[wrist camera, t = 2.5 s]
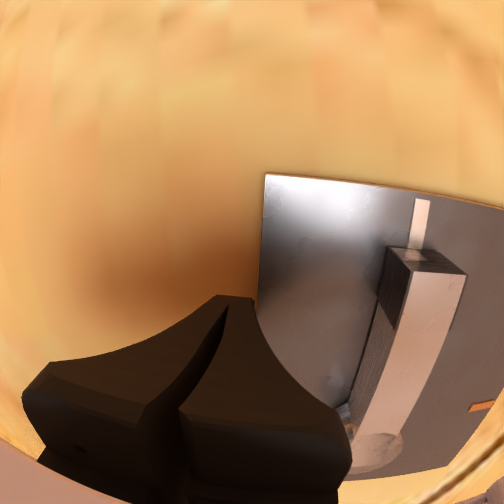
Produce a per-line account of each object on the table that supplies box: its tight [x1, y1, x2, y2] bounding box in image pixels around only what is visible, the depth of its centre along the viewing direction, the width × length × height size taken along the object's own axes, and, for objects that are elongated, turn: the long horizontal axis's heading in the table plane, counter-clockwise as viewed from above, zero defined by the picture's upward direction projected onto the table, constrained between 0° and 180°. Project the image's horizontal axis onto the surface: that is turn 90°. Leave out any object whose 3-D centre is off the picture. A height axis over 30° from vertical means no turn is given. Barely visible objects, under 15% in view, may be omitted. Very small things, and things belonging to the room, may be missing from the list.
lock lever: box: [335, 247, 469, 474], centre depth 11 cm, size 11×4×2 cm, turn 177°
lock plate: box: [256, 172, 504, 481], centre depth 13 cm, size 15×18×1 cm
